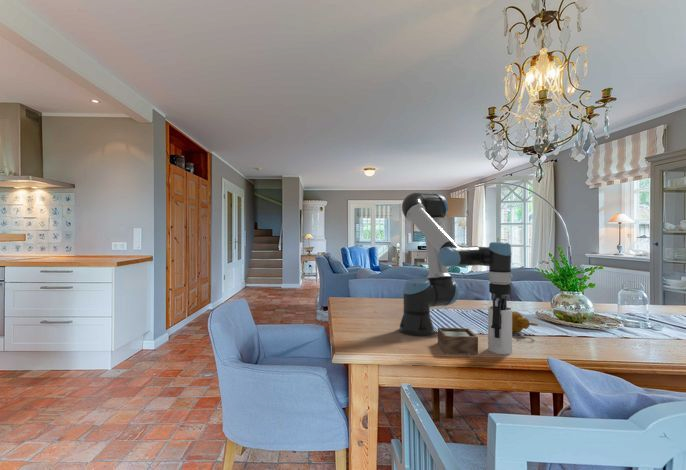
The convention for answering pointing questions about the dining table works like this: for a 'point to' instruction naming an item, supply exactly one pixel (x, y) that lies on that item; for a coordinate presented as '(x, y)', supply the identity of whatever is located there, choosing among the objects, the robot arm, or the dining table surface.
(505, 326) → the cup
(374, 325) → the dining table surface
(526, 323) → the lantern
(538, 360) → the dining table surface
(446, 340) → the brown wooden square box
